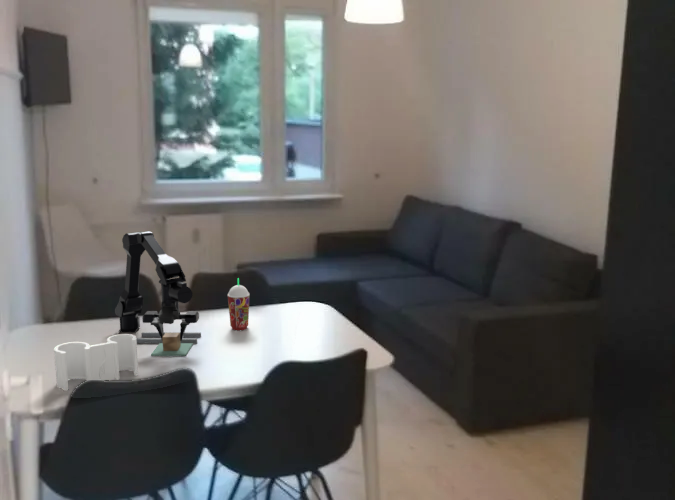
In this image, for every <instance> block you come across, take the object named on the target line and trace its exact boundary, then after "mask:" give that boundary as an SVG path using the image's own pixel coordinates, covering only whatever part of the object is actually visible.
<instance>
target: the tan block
mask: <svg viewBox="0 0 675 500" xmlns="http://www.w3.org/2000/svg"><path fill="white" fill-rule="evenodd" d="M162 339H163V351H178V349H179V348H180V346H181V343H180V333H165V334H164V336H163V337H162Z"/></svg>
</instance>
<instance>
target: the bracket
mask: <svg viewBox="0 0 675 500" xmlns="http://www.w3.org/2000/svg"><path fill="white" fill-rule="evenodd" d="M53 352H54V353H53V355H54V366H55V381H56V387H57V386H58V387H60V388H63V390H68V389H69V380H68V379H73V380H85V381H87V380H92V379H101V380H109V381H114V380H117V381H118V380H120V371H132V372H133V376H139V364H138V363H139V362H138V361H139V360H138V359H139V358H138V343H137V336H136V335H135V334H131V333H120V334H114V335H110V336H109V337H107V338H106V342H103V343H96V344H92V345H90V344H89V342H85V341H70V342H64V343H60V344H58V345H56V346H55V347H54V348H53ZM75 378H76V379H75ZM58 387H57V388H58ZM68 391H69V390H68Z"/></svg>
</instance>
